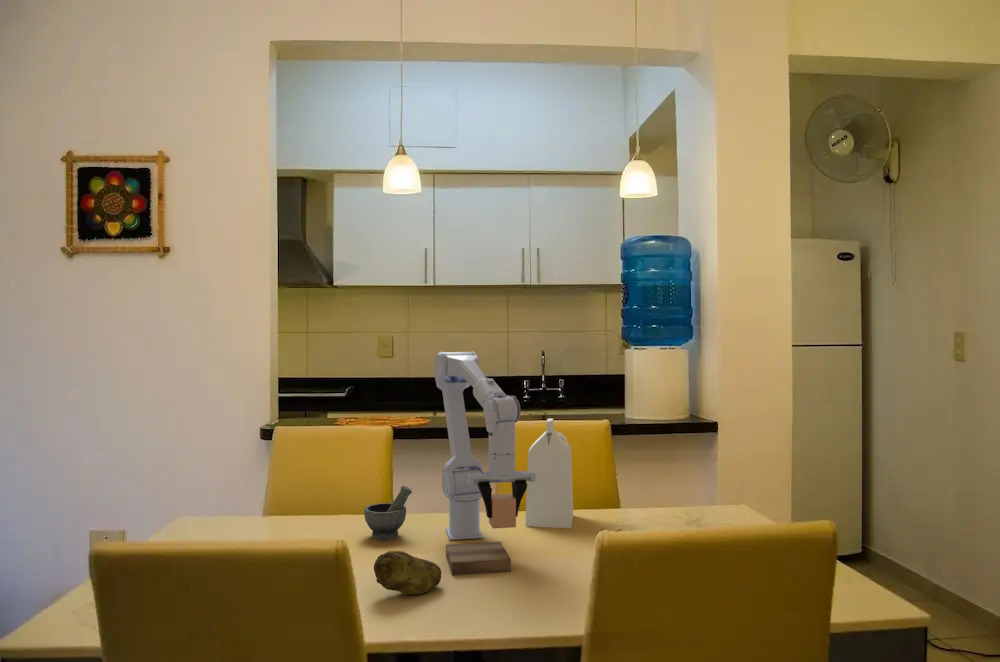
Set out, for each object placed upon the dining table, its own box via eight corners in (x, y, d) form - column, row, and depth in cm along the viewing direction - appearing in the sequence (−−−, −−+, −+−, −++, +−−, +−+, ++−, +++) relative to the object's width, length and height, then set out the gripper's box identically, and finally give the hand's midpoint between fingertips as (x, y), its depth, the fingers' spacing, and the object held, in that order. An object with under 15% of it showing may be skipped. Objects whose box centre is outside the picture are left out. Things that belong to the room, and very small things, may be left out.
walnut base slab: (445, 556, 151) (445, 544, 151) (500, 553, 153) (500, 541, 153) (451, 575, 139) (451, 562, 139) (510, 571, 141) (510, 559, 141)
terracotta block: (488, 522, 152) (488, 494, 152) (511, 520, 153) (511, 493, 153) (492, 528, 147) (492, 500, 147) (516, 527, 148) (515, 498, 148)
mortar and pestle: (361, 543, 161) (361, 491, 161) (366, 531, 170) (366, 482, 170) (410, 542, 161) (410, 490, 161) (413, 530, 171) (413, 481, 171)
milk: (529, 514, 186) (529, 416, 186) (573, 515, 185) (573, 417, 185) (525, 526, 174) (525, 422, 175) (571, 528, 173) (571, 423, 173)
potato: (446, 598, 127) (446, 554, 127) (374, 604, 124) (374, 559, 124) (439, 582, 135) (439, 541, 135) (372, 588, 132) (372, 545, 132)
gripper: (471, 457, 145) (471, 522, 145) (539, 454, 148) (539, 519, 148) (466, 451, 152) (466, 514, 152) (531, 449, 155) (531, 510, 155)
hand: (501, 516), depth 150 cm, fingers closed on terracotta block, 5 cm apart
